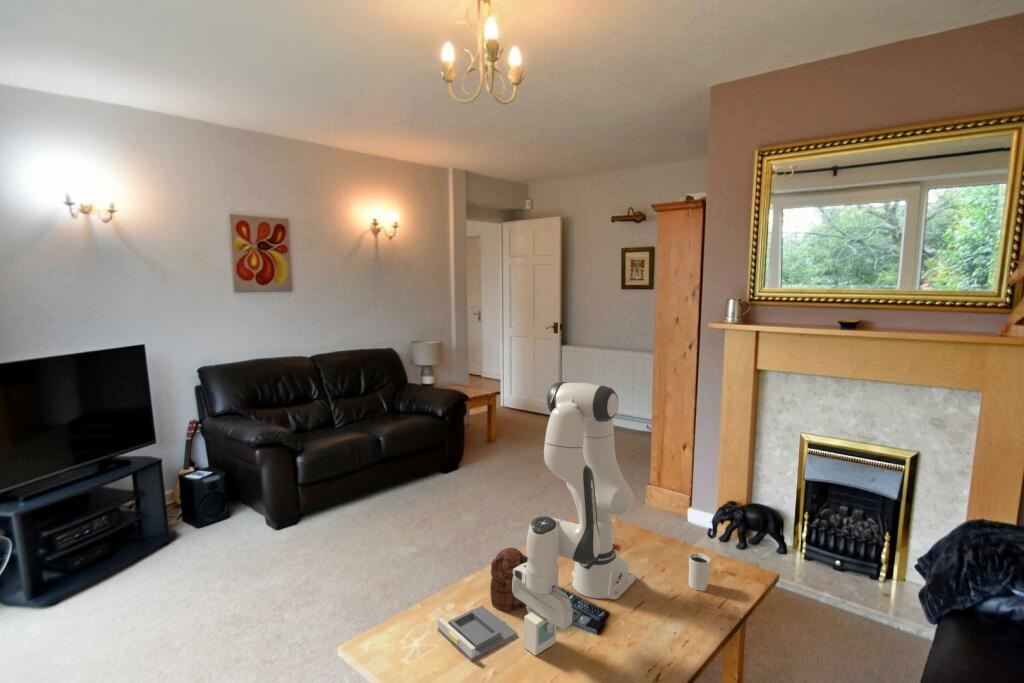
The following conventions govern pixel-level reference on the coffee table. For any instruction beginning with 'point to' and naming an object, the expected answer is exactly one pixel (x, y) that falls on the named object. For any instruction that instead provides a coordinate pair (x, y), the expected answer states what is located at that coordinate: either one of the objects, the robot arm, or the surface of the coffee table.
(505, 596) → the wooden figurine
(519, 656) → the coffee table surface
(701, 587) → the white cup
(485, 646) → the display base
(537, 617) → the product carton
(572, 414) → the robot arm
